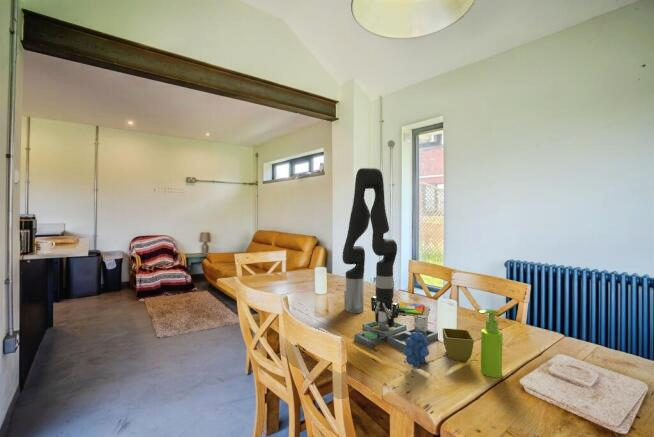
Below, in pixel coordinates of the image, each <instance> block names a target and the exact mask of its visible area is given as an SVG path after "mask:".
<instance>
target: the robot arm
mask: <svg viewBox="0 0 654 437" xmlns="http://www.w3.org/2000/svg"><path fill="white" fill-rule="evenodd" d="M354 183H355V184H354V191H353V192H354V193H353V201H352V208H351V212H350V217H349V223H348V228H347V229H348V230H347V235H346V238H345V243H344V246H343V250H342V261H343V264H345V265H355V266H354V267H353V268H351V269H348V270H346V272H345V291H344V292H343V293H344V295H343V298H344V299H343V300H344V301H343V302H344V305H343V306H344V308H343V309H344V310H345V311H346V312H347V313H350V314H360V313H363V312H364V302H365V301H364V297H365V296H364V289H365V288H364V287H365V286H364V285H365V283H364V282H365V280H364V279H365V278H364V277H365V263H366V251H365V248H364V247H363V246H361V245H355V244H356V242H357V241H358V240H359V239H360V238H361V237H362V235H363V234H364V233H365V232H366V231H367V229H368V228H369V222H370V223H371V228H372V229H371V230H372V236H371V237H372V239H371V241H372V242H371V249H372V252H373V253H374V254H375V255H376V256H378V257H381V256H382V259H381V260H379V261H377V262H376V265H375V266H376V272H375V273H376V274H375V275H376V276H375V296H372V297H370V303H371V311H372V312H374V316H375V318H374V319H375V320H376V322H377V323H378V312H379V310H380V309H383V310H385V311H386V313H387V314H388V317H389V319H388V327H389V328H390V329H392V328H393V327H395V326H394V321H395V319H398V317H399V315H398V312H399V304H398V303H399V302H394V301H393V300H394V299H393V298H394V294H395V293H394V292H395V290H394V289H395V288H394V286H395V285H394V284H395V283H394V282H395V280H394V265H395V261H396V257H397V254H398V253H397V252H398V245H397V242H396V240H395V239H393V238H384V236H385V235H384V234H387V233H389V231H390V226H389V221H388V217H387V212H386V204H385V203H386V202H385V186H384V177H383V173H382V171H381V169H380V168H377V167H362V168H359V169H358V170H357V172H356V175H355V181H354ZM368 189H369V190H371V189H372V190H373V191H374V201H373V203H372V206H371V209H370V210H369V206H368V205H367V202H366V200H365V192H366V191H367V190H368ZM396 303H397V304H396ZM388 310H390V311H388ZM375 320H374V321H375Z"/></svg>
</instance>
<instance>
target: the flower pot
mask: <svg viewBox="0 0 654 437" xmlns="http://www.w3.org/2000/svg"><path fill="white" fill-rule="evenodd" d="M442 338H443V340H442V341H443V346H444V349H445V351H446V354H447V357H448V359H449V360H455V361H456V360H457V361H460V363H468V362H469V360H470V359H471V357H472V354H473V350H474V343H475V339H474V337H473V335H471V333H470V332H469V330H468V329H458V328H446V327H444V328H442Z"/></svg>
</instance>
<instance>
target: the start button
mask: <svg viewBox="0 0 654 437" xmlns="http://www.w3.org/2000/svg"><path fill="white" fill-rule="evenodd" d="M364 337H365V338H367V339H369V340H373V339H375V338H377V334H376V333H373V332H367V333H365V334H364Z"/></svg>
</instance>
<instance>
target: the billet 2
mask: <svg viewBox="0 0 654 437" xmlns="http://www.w3.org/2000/svg"><path fill="white" fill-rule="evenodd" d="M413 318H414V321H413V322H414V327H413V328H414V332H416V333H419V332H421V333H423V334H424V337H425V336H427V335H428V328H429V325H428V322H429V321H428V317H426V316H421V315H417V316H413Z"/></svg>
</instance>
